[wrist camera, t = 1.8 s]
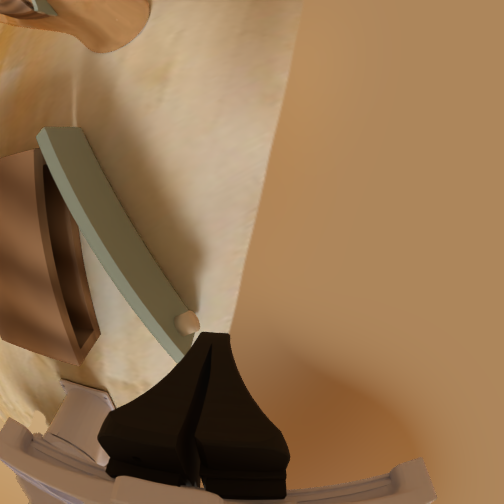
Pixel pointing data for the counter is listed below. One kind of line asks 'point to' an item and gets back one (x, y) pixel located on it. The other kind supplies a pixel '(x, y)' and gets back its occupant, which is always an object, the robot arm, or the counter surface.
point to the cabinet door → (116, 239)
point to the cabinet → (41, 265)
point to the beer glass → (81, 19)
